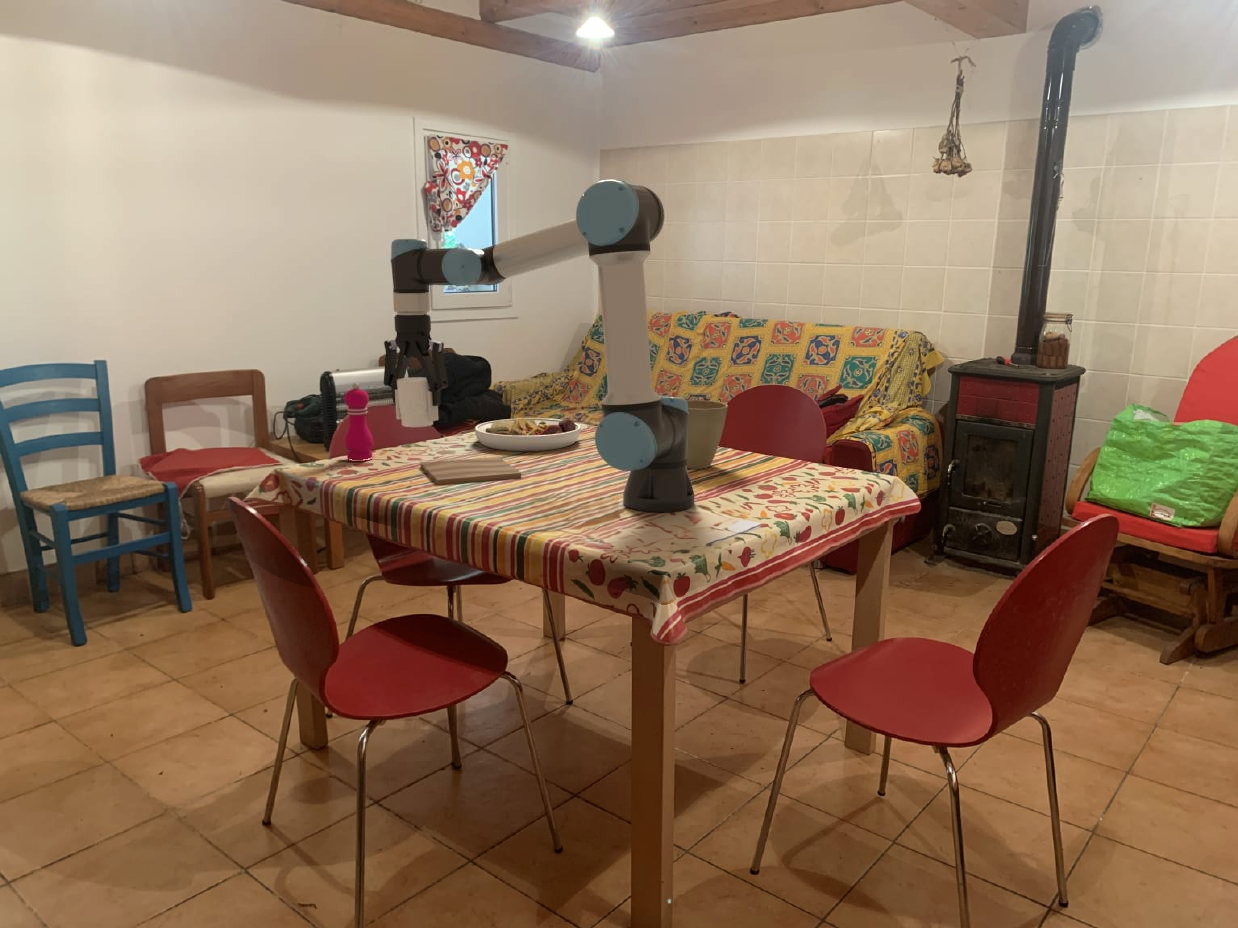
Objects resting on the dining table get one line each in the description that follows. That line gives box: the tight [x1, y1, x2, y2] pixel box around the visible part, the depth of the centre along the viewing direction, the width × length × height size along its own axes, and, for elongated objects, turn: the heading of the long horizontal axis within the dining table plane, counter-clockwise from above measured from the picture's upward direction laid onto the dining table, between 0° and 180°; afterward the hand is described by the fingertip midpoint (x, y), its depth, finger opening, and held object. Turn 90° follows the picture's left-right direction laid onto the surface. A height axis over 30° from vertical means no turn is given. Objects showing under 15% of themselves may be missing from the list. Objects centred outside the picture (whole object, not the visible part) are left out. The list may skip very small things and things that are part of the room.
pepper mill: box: [343, 382, 375, 460], centre depth 229 cm, size 7×7×20 cm
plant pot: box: [685, 399, 729, 470], centre depth 224 cm, size 15×15×16 cm
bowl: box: [474, 417, 582, 452], centre depth 255 cm, size 30×30×8 cm
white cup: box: [397, 376, 434, 428], centre depth 194 cm, size 8×8×10 cm
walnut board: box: [420, 456, 522, 486], centre depth 217 cm, size 20×20×1 cm
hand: (417, 419), depth 194 cm, fingers closed on white cup, 8 cm apart
